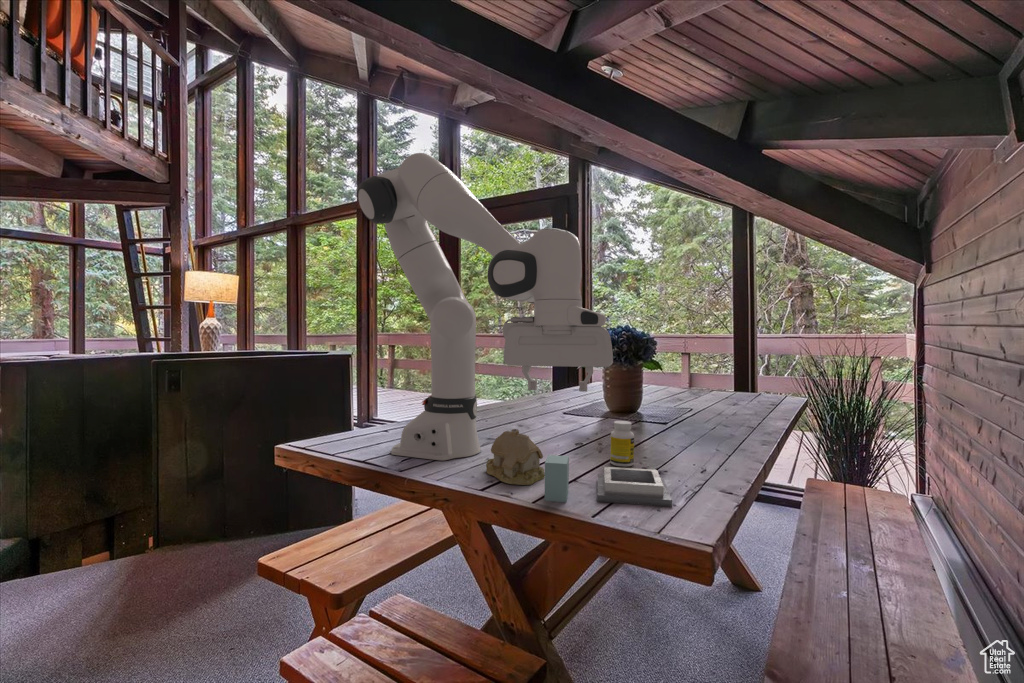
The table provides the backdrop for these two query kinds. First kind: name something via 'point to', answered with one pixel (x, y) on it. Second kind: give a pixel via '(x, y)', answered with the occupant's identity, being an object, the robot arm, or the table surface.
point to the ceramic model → (515, 459)
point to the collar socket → (632, 487)
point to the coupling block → (556, 478)
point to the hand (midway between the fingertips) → (557, 390)
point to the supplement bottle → (622, 444)
